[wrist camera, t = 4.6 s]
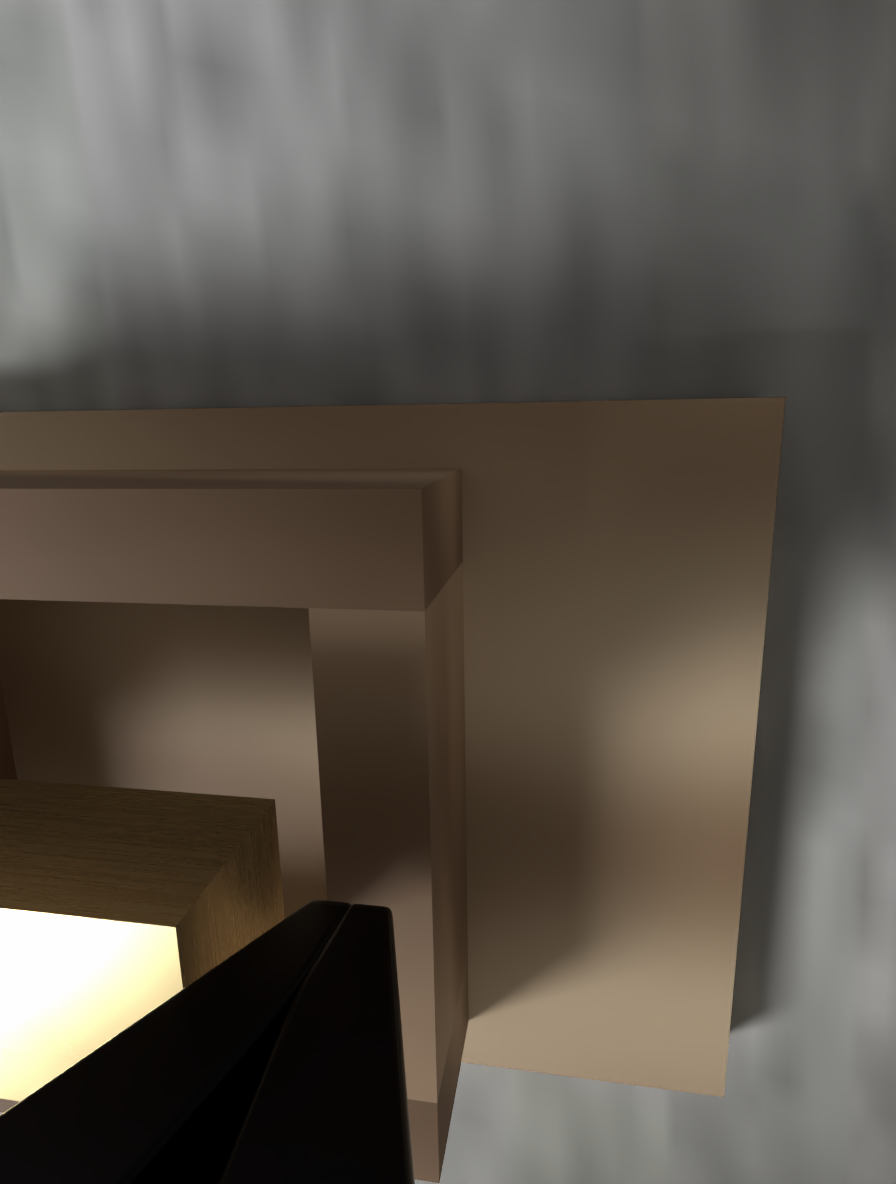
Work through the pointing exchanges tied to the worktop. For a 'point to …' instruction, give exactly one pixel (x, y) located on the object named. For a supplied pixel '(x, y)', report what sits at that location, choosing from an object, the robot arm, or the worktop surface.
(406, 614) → the dock board
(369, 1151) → the robot arm
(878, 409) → the worktop surface
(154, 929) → the bar
